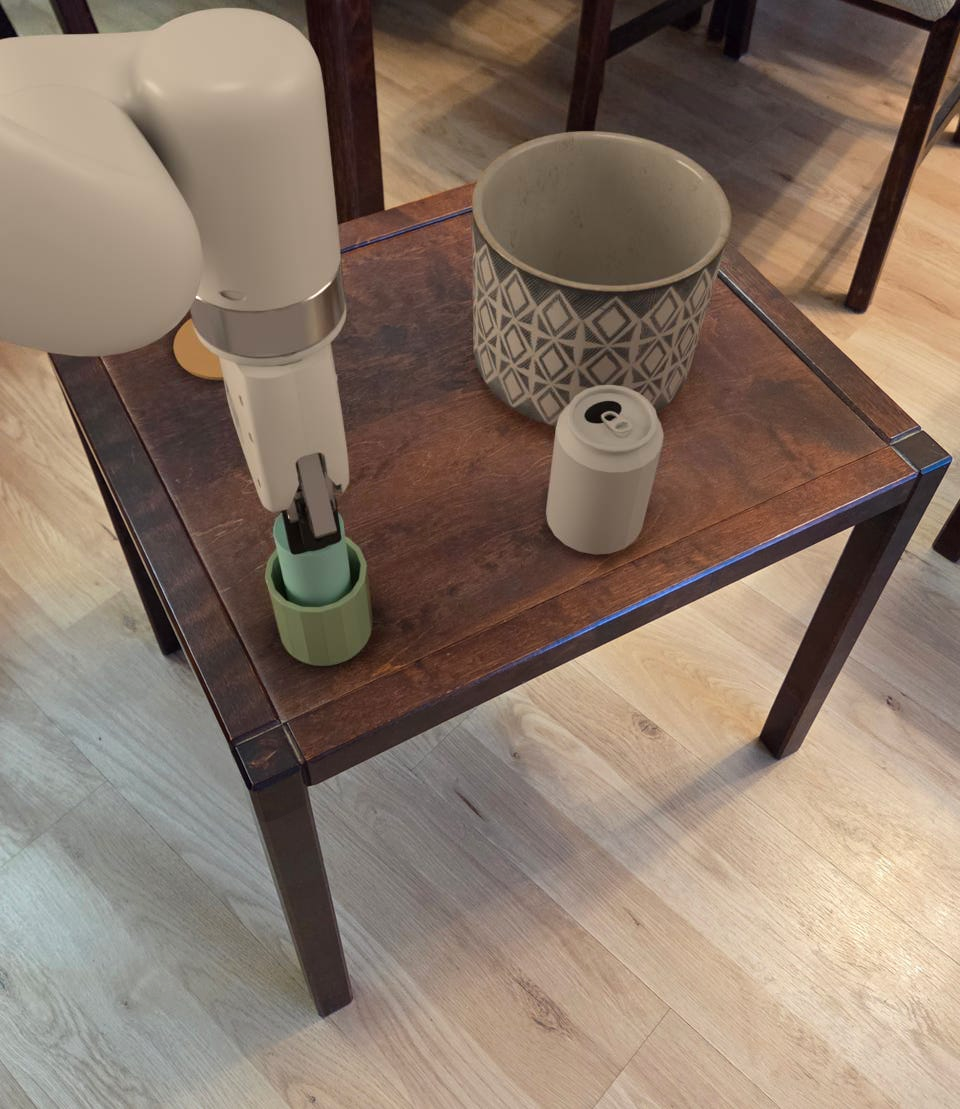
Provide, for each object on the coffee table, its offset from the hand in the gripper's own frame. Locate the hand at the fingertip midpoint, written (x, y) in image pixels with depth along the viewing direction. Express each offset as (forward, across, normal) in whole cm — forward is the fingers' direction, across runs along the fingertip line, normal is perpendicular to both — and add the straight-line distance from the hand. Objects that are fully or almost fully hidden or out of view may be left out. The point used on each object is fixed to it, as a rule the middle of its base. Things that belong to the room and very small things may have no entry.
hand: (307, 521), depth 66 cm
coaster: (+12, -31, 0) cm, 33 cm away
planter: (+12, -18, +28) cm, 36 cm away
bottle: (+12, 0, 0) cm, 12 cm away
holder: (+12, 0, 0) cm, 12 cm away
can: (+12, -2, +22) cm, 25 cm away
